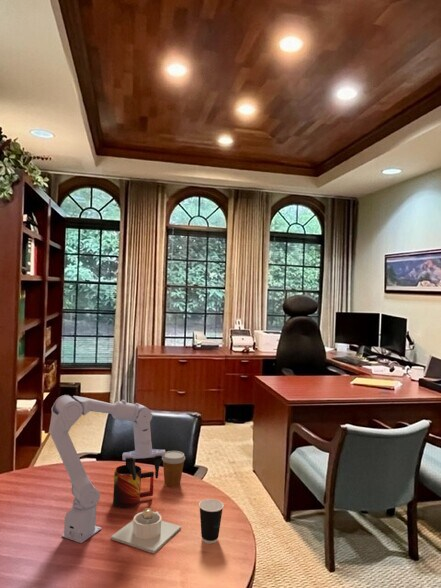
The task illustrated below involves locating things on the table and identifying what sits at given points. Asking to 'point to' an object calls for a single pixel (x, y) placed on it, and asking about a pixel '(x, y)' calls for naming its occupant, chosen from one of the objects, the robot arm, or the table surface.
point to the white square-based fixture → (146, 533)
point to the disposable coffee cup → (173, 468)
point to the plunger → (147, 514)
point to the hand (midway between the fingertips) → (145, 478)
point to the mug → (129, 487)
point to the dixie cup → (210, 519)
